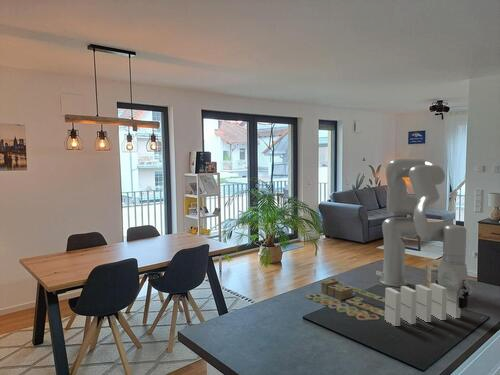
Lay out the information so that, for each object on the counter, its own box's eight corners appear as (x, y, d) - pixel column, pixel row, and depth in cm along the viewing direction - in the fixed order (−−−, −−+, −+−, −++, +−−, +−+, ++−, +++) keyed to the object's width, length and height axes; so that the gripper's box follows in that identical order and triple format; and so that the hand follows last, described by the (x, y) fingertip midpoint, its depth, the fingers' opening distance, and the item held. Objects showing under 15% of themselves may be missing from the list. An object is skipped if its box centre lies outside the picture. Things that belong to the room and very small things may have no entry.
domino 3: (426, 323, 132) (427, 290, 132) (414, 316, 138) (415, 285, 138) (431, 322, 133) (432, 289, 132) (419, 315, 139) (420, 284, 138)
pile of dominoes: (301, 298, 159) (302, 285, 159) (344, 286, 174) (344, 274, 174) (369, 327, 130) (369, 311, 130) (413, 310, 146) (413, 296, 145)
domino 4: (441, 321, 134) (442, 288, 133) (429, 314, 140) (430, 283, 139) (445, 320, 135) (447, 288, 134) (433, 314, 141) (434, 283, 140)
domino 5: (455, 319, 136) (456, 287, 135) (443, 312, 142) (444, 282, 141) (460, 318, 137) (461, 286, 136) (447, 312, 142) (448, 281, 142)
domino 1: (395, 327, 129) (395, 293, 128) (384, 320, 135) (385, 288, 134) (400, 326, 130) (401, 292, 129) (389, 319, 135) (390, 287, 135)
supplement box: (442, 300, 155) (443, 269, 154) (429, 299, 156) (430, 269, 155) (436, 293, 163) (437, 264, 162) (424, 293, 164) (425, 264, 163)
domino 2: (410, 325, 131) (411, 291, 130) (399, 318, 137) (400, 286, 136) (415, 324, 131) (416, 291, 131) (404, 317, 137) (405, 286, 136)
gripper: (428, 253, 145) (427, 296, 146) (464, 265, 128) (462, 313, 129) (444, 252, 147) (442, 294, 148) (481, 263, 130) (479, 310, 131)
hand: (452, 303), depth 139 cm, fingers open, 9 cm apart
